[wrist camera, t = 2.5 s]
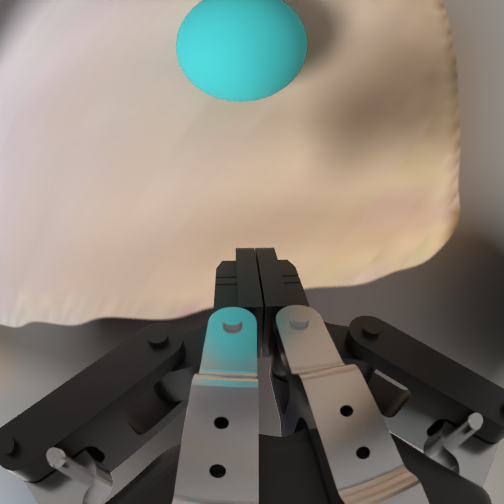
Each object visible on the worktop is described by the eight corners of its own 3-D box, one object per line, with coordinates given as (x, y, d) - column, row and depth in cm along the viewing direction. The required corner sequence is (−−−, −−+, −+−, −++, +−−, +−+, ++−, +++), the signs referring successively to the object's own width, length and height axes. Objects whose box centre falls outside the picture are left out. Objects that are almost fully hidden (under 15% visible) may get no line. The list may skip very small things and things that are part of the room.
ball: (185, 104, 14) (161, 102, 9) (188, 14, 11) (169, -29, 6) (289, 105, 14) (323, 105, 9) (292, 16, 11) (324, -22, 6)
